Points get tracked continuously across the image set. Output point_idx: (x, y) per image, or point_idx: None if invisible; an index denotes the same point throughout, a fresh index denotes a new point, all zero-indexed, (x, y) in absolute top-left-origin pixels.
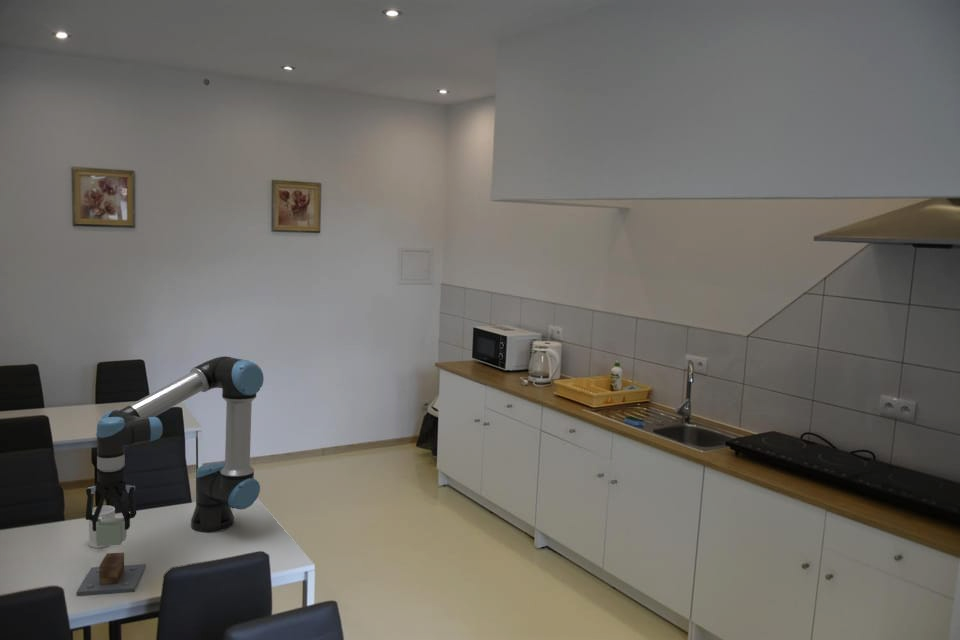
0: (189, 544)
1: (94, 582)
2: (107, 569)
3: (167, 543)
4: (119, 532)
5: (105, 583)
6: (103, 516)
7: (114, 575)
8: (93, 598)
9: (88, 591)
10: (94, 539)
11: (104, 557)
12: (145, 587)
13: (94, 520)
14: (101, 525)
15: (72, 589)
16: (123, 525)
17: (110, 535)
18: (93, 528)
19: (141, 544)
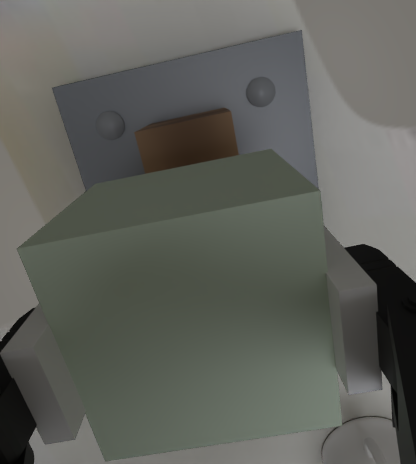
0: (62, 455)
1: (257, 131)
2: (187, 119)
3: (141, 456)
4: (59, 215)
5: (199, 113)
6: None
7: (156, 124)
8: (209, 11)
9: (248, 42)
10: (393, 445)
11: None
12: (34, 131)
13: (412, 295)
14: (277, 248)
15: (337, 95)
16: (38, 311)
17: (156, 190)
18: (374, 257)
19: (226, 445)
